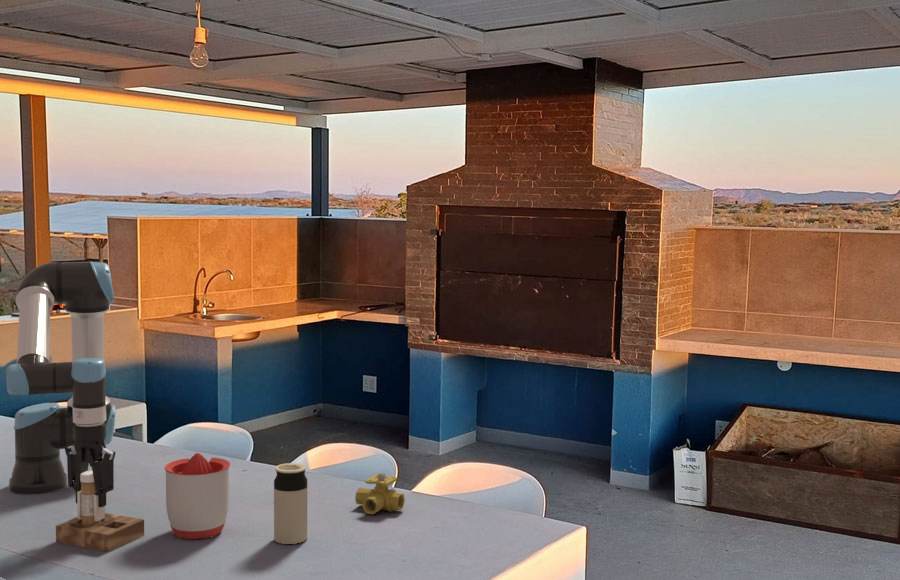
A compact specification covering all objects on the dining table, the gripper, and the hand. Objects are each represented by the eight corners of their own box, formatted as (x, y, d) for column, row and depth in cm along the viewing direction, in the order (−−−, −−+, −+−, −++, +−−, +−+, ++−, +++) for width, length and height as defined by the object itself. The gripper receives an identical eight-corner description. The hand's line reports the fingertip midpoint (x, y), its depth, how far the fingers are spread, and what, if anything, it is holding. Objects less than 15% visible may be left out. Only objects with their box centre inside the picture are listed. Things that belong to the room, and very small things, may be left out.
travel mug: (292, 547, 221) (292, 473, 219) (267, 541, 225) (266, 468, 223) (314, 538, 227) (314, 465, 226) (289, 531, 232) (289, 460, 230)
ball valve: (406, 508, 252) (407, 472, 251) (390, 520, 242) (390, 482, 241) (365, 502, 256) (365, 467, 255) (347, 513, 247) (347, 476, 246)
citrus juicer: (232, 518, 241) (232, 442, 239) (228, 541, 224) (228, 460, 222) (170, 520, 238) (169, 444, 237) (161, 544, 221) (160, 462, 220)
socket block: (56, 541, 222) (55, 525, 222) (92, 526, 233) (92, 510, 233) (109, 551, 216) (109, 534, 216) (144, 535, 228) (144, 519, 227)
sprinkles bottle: (100, 522, 229) (99, 469, 228) (102, 528, 225) (101, 473, 224) (80, 525, 227) (79, 471, 226) (81, 531, 223) (80, 475, 222)
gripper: (49, 422, 223) (51, 517, 225) (107, 430, 217) (108, 527, 219) (72, 416, 230) (74, 508, 232) (129, 423, 224) (130, 518, 226)
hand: (91, 517), depth 226 cm, fingers closed on sprinkles bottle, 4 cm apart
